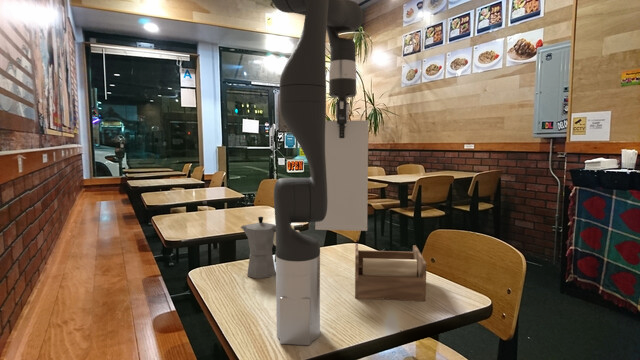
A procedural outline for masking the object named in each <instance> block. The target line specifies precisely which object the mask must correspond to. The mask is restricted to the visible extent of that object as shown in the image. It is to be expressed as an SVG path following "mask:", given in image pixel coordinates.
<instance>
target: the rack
mask: <svg viewBox="0 0 640 360" xmlns="http://www.w3.org/2000/svg"><path fill="white" fill-rule="evenodd" d="M354 245H355V246H354V247H355V250H354V251H355V254H354V255H355V257H354V259H355V260H354V261H355V263H354V267H355V269H354V288H355V289H354V298H355V299H361V300H362V299H365V300H370V299H371V300H386V301H387V300H390V301H410V302H411V301H412V302H413V301H414V302H426V297H427V296H426V293H427V292H426V290H427V267H428V266H427V264H428V263H427V262H426V260H425V258H424V256H423V255H422V253H421V252H420V250H419V248H418V247H417V245H416V244H415V245H412V251H403V250H401V251H399V250H398V251H395V250H388V251H387V250H366V249H365V250H364V249H362V250H361V249H359V243H354ZM363 258H380V259H412V260H417V277H400V276H372V275H363Z"/></svg>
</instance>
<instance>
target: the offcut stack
mask: <svg viewBox="0 0 640 360" xmlns="http://www.w3.org/2000/svg"><path fill="white" fill-rule="evenodd" d="M363 275H372V276H400V277H417V260H412V259H380V258H363Z"/></svg>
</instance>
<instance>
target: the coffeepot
mask: <svg viewBox="0 0 640 360" xmlns="http://www.w3.org/2000/svg"><path fill="white" fill-rule="evenodd" d="M257 220H258V222H256V223H250V224H245V225H241V226H240V229H242V231H243V232H244V233H245V236H246V237H247V241H248V247H249V252H250V253H249V257H248V266H247V277H248V278H252V279H257V280H258V279H260V280H261V279H262V280H263V279H268V278H271V277H273V276H274V275H275V276H276V265H275V262H274V261H275V259H274V255H273V248H274V243H273V241H274V233H275V232H276V224H273V223H268V222H264V221H263V220H264V217H263V216H258V217H257Z"/></svg>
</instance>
